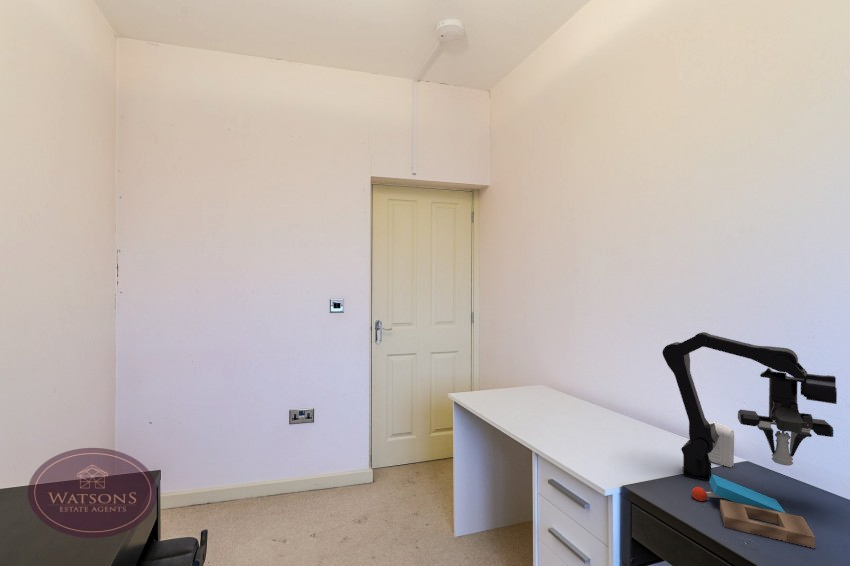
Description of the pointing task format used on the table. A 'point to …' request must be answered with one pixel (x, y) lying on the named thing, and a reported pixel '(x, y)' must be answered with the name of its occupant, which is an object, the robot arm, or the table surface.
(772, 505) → the lever
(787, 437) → the rook chess piece
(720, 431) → the photo printer
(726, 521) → the walnut socket board
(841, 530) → the table surface
